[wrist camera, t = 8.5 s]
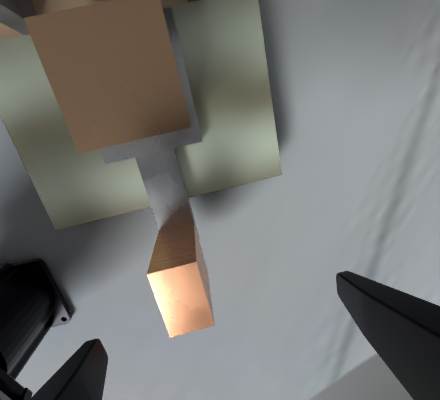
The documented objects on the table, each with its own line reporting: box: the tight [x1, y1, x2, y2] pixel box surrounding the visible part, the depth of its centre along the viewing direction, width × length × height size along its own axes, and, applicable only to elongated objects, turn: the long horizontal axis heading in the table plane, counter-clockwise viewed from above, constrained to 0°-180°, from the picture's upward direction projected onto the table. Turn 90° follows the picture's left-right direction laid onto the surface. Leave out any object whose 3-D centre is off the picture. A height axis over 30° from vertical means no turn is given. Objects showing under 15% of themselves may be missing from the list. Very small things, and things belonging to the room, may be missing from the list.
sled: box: [24, 0, 214, 337], centre depth 13 cm, size 16×6×6 cm, turn 12°
